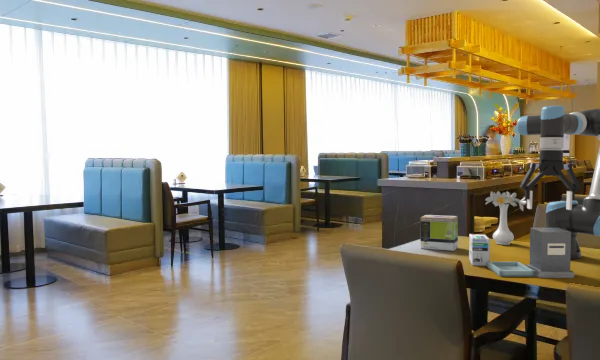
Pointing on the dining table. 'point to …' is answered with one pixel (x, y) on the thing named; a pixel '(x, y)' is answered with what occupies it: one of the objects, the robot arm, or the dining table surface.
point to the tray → (510, 269)
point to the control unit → (550, 253)
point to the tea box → (439, 232)
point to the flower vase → (504, 215)
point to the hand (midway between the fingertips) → (549, 209)
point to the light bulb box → (479, 249)
